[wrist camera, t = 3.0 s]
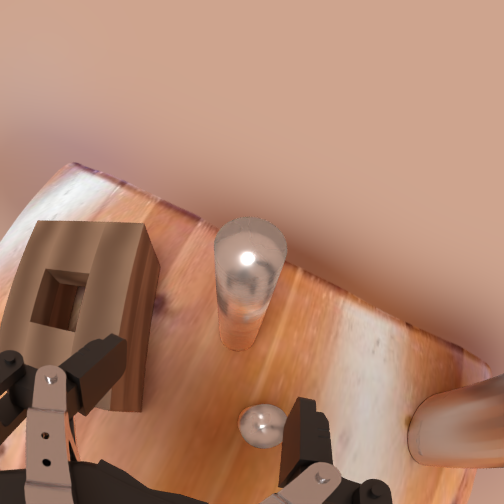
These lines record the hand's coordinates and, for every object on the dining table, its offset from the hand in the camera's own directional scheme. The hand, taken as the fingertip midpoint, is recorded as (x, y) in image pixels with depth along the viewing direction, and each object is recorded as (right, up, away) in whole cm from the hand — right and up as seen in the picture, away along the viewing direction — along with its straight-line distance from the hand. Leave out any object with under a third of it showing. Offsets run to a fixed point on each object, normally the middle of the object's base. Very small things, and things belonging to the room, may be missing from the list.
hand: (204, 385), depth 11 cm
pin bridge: (-15, -2, +15) cm, 21 cm away
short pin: (+3, -10, +12) cm, 16 cm away
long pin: (+1, -2, +16) cm, 16 cm away
